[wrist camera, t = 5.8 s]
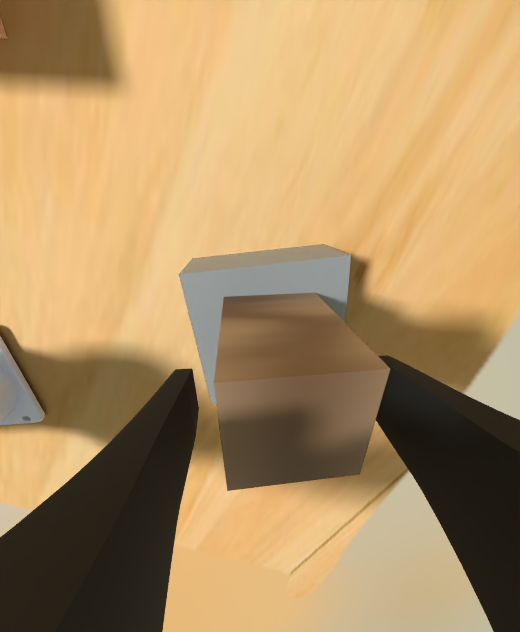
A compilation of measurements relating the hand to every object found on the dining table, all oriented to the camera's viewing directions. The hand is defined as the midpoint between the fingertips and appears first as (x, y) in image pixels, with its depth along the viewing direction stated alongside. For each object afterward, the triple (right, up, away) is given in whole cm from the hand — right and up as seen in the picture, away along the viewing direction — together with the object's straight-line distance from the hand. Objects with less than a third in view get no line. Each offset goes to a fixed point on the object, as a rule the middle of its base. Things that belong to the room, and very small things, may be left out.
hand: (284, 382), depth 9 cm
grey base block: (-1, +3, +7) cm, 7 cm away
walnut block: (0, +2, +3) cm, 3 cm away
